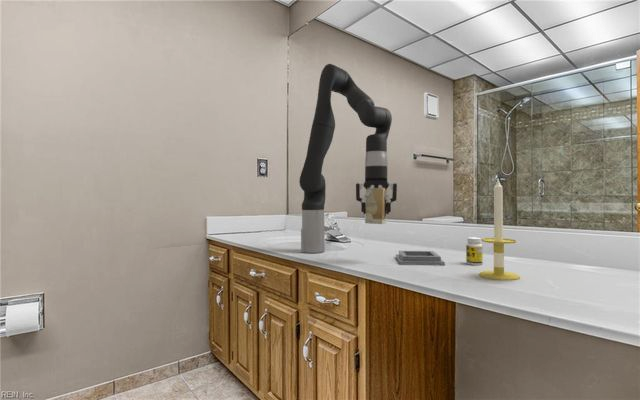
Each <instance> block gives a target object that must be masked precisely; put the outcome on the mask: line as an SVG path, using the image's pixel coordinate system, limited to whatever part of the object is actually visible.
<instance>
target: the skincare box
mask: <svg viewBox="0 0 640 400" xmlns="http://www.w3.org/2000/svg"><path fill="white" fill-rule="evenodd" d="M368 190H369V188H367V189H365V194H366V193H367V191H368ZM384 190H385V188H373V190H372V191H371V193H370V195H369V196H368V198H367V199H366V201H365V203H366V209H365V214H364V215H365V216H364V217H365V218H364V224H373V225H384V224H386V223H387V222H386V221H387V219H386V218H387V214H386V203H387V201H386V199H385V197H384V194H385V193H384ZM369 192H370V191H369ZM385 192H386V193H387V192H388V188H387V189H386V190H385ZM387 194H388V193H387Z"/></svg>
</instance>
